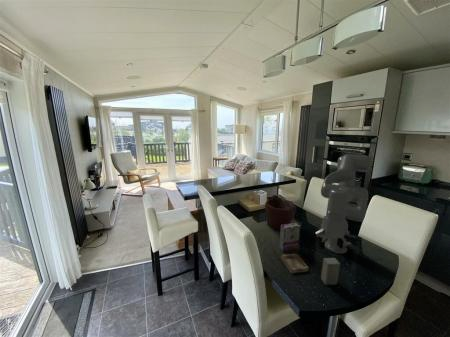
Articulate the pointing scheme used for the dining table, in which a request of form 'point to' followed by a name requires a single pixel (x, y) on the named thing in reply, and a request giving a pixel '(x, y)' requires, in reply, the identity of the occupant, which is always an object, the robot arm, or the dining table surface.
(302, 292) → the dining table surface
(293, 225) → the candy bar box
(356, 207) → the robot arm
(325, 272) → the skincare box
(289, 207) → the bucket
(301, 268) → the oak tray
